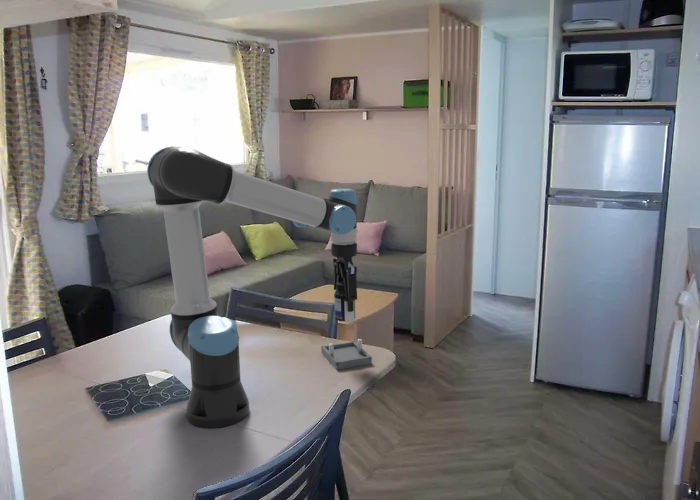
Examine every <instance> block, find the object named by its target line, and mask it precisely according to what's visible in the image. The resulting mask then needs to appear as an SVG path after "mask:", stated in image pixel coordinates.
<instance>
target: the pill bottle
mask: <svg viewBox="0 0 700 500" xmlns="http://www.w3.org/2000/svg"><path fill="white" fill-rule="evenodd" d="M336 287H337V290H334V292H333V293H334V295H333V297H334V319H335V320H336V321H338V322H345V303H344V299H346V297H345V289H344V281H342V282H338V283H337V284H336ZM355 319H356V300H354V320H355Z"/></svg>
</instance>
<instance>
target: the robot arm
mask: <svg viewBox="0 0 700 500" xmlns="http://www.w3.org/2000/svg"><path fill="white" fill-rule="evenodd" d="M146 172H147V177H148V180H149V183H150V185H151V186H152V187H153V193H154V198H155V199H154V200H155V205H156V207H158V208H160V209H161V210H162V211H163V217H164V219H163V220H164V226H165V233H166V240H167V248H168V254H169V263H170V270H171V277H172V285H173V290H174V291H173V292H174V298H175V299H174V300H175V303H174V304H173V305H172V306H171V308H170V315H171V317H170V318H171V320H170V323H169V335H170V339H171V341H172V343H173V345H174V346H175V347H176V348H177V349H178V350H179V351H180V352H181V353H182V354H183V355H184V357H186V359H188V361H189V363H190V375H191V390H190V393H189V397H188V401H187V404H186V412H185V413H186V419H187V421H188V422H189V423H190V424H192V425H193V426H195V427H199V428H200V427H201V428H205V429H207V428H209V429H211V428H212V429H214V428H215V429H216V428H222V427H224V428H225V427H228V426H232V425H235V424H236V423H239V422H241V421H243V420H244V419H245V418H246V417H247V416H248V415H249V414H250V402H249V397H248V396H247V395H248V394H247V393H246V391H245V389H244V386H243V383H242V381H241V364H240V343H239V342H240V335H239V332H238V326H237V324H236V323H235V322H234V321H233V320H232V319H230V318H229V317H222V316H221V315H219V313H218V306H217V302H216V301H215V300H214V299H212V298H211V296H210V288H209V279H208V271H207V264H206V254H205V247H204V239H203V238H204V237H203V230H202V229H203V228H202V222H201V221H202V220H201V214H200V206H201V205H202V204H203V202H209V203H212V204H213V203H214V204H217V205H222V204H224V203H229V204H233V205H237V206H240V207H242V208H243V207H244V208H246V209H250V210H254V211H257V212H261V213H264V214H268V215H272V216H275V217H279V218H282V219H286V220H289V221H292V223H293V226H295V227H297V228H308V227H314V228H317V229H320V230H324V231H327V232H330V241H331V246H330V248H331V249H330V251H331V252H330V253H331V256H333V257H334V258H332V263H333V290H334V291H336V290H337V287H336V284H337V283H338V282H342V281H344V289H345V297H346V299H344V303H345V321H344V322H345V323H351V322H355V319H354V300H355V301H357V300H358V288H357V287H358V284H357V283H358V282H357V281H358V280H357V271H358V267H357V266H354V263H353V257H356V256H357V255H358V244H357V240H358V237H357V236H358V235H357V234H358V233H359V231H358V229H357V228H358V226H357V222H358V221H357V218H358V217H357V213H358V212H357V205H358V204H357V193H356V191H355V190H354V189H351V188H334V189H331V190H330V191H329V196H328V197H323V198H322V197H318V196H315V195H312V194H309V193H305V192H302V191H298V190H296V189H292V188H289V187H287V186H283V185H280V184H277V183H274V182H271V181H268V180H265V179H262V178H258V177H256V176H252V175H250V174H245V173H244V172H240V171H237V170H235V168H234V167H233V165H232V164H229V163H227V162H223V161H221V160H218V159H216V158H214V157H211V156H209V155H208V154H205V153H203V152H201V151H199V150H196V149H193V148H189V147H188V148H187V147H181V146H173V145H171V146H168V147H164V148H161V149H159V150H158V151H157V152H155V153H154V154H153V155H152V156H151V158H150V160H149V161H148V164H147V171H146Z"/></svg>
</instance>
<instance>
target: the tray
mask: <svg viewBox="0 0 700 500" xmlns="http://www.w3.org/2000/svg"><path fill="white" fill-rule="evenodd" d="M320 347H321V354H322V355H323V357H324V358H326V359H327V361H328V362H329V363H330V364H331V365H332V366H333V368H335V370H343V369H348V368H349V369H350V368H355V367H361V366H368V365H372V364H373V363H372V356H371V355H370V354H369V353H368V352H367V351H366V350H365V349H363V339H361V338H358V339H357V342H356V341H354V340H353V341H348V342H341V343H331V342H330V343H328V344H326V345H321V346H320Z"/></svg>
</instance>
